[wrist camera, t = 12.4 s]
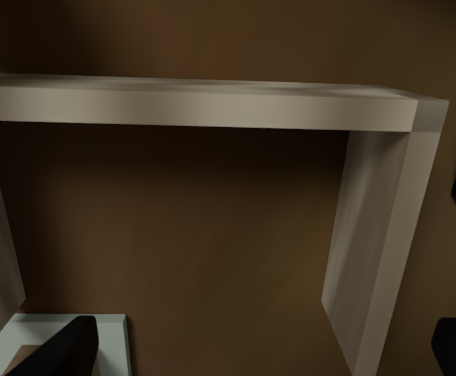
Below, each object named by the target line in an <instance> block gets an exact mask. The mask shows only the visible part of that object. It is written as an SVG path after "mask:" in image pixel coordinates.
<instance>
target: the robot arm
mask: <svg viewBox="0 0 456 376" xmlns="http://www.w3.org/2000/svg"><path fill="white" fill-rule="evenodd" d="M452 196H453V197H454V198H455V199H456V179H455V183H454V186H453V189H452ZM431 347H432V350H433V353H434V355H435V357H436V359H437V362H438V364H439V366H440V368H441V371H442V373H443V375H444V376H456V318H447V317H443V318H440V319H439V320H438V322H437V325H436V328H435V331H434V334H433V337H432V340H431ZM98 348H99V336H98V328H97V321H96V318H95V316H93V315H79V316H77V317H75V318H74V319H73V320H72V321H71V322H69V323H68V324H67V325H66V326H64V327H63V328H62V329H61V330H59V331H58V332H57V333H56V334H55V335H53V336H52V337H51V338H50V339H48V340H47V341H46V342H45V343H44V344H42V345H41V346H40V347H39V348H37V349H36V350H35V351H34V352H32V353H31V354H30V355H29V356H28V357H26V358H25V359H24V360H23V361H21V362H20V363H19V364H18V365H16V366H15V367H14V368H13V369H12V370H10V371H9V372H8V373H7V374H5V375H4V376H91V375H92V371H93V367H94V364H95V360H96V356H97V352H98Z"/></svg>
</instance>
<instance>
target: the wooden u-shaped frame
mask: <svg viewBox="0 0 456 376" xmlns="http://www.w3.org/2000/svg"><path fill="white" fill-rule="evenodd" d="M449 102H450V101H447V100H443V99H438V98H434V97H430V96H425V95H421V94H416V93H412V92H407V91H403V90H398V89H394V88H389V87H385V86H380V85H355V84H324V83H293V82H262V81H231V80H200V79H170V78H139V77H108V76H77V75H46V74H16V73H0V121H32V122H69V123H106V124H142V125H179V126H216V127H252V128H289V129H326V130H350V133H349V139H348V145H347V151H346V157H345V163H344V169H343V174H342V180H341V186H340V192H339V198H338V204H337V210H336V216H335V222H334V228H333V234H332V240H331V246H330V252H329V258H328V264H327V270H326V276H325V282H324V287H323V293H322V299H321V301H322V304H323V306H324V309H325V311H326V314H327V316H328V318H329V321H330V323H331V326H332V328H333V331H334V333H335V335H336V338H337V340H338V343H339V345H340V348H341V350H342V352H343V355H344V357H345V360H346V362H347V365H348V367H349V369H350V372H351V374H352V376H376V373H377V369H378V365H379V361H380V358H381V354H382V350H383V347H384V343H385V339H386V336H387V332H388V328H389V324H390V321H391V317H392V313H393V310H394V306H395V302H396V298H397V295H398V291H399V287H400V284H401V280H402V276H403V272H404V269H405V265H406V261H407V258H408V254H409V250H410V246H411V243H412V239H413V235H414V232H415V228H416V224H417V220H418V217H419V213H420V209H421V206H422V202H423V198H424V195H425V191H426V187H427V183H428V180H429V176H430V172H431V169H432V165H433V161H434V157H435V154H436V150H437V146H438V143H439V139H440V135H441V131H442V128H443V124H444V120H445V117H446V113H447V109H448V105H449ZM25 299H26V295H25V291H24V287H23V282H22V278H21V274H20V270H19V265H18V261H17V257H16V252H15V248H14V244H13V239H12V235H11V231H10V226H9V222H8V218H7V214H6V209H5V205H4V201H3V196H2V192H1V188H0V332H1V331H2V329H3V328H4V327H5V325H6V324H7V323H8V321H9V320H10V319H11V318H12V316H13V315H14V314H15V312H16V311H17V310H18V308H19V307H20V306H21V305H22V303H23V302H24V301H25Z"/></svg>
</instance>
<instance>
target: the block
mask: <svg viewBox="0 0 456 376" xmlns="http://www.w3.org/2000/svg"><path fill="white" fill-rule="evenodd" d="M40 346H41V345H21V347H20V348H19V350H18V351H17V353H16V354H15V356H14V357H13V359H12V360H11V362H10V363H9V365H8V366H7V368H6V369H5V371H4V372H3V374H2V376H4V375H5V374H7V373H8V372H9V371H10V370H12V369H13V368H14V367H15V366H16V365H18V364H19V363H20V362H21V361H23V360H24V359H25V358H26V357H28V356H29V355H30V354H31V353H32V352H34V351H35V350H36V349H37V348H39V347H40ZM91 376H100V369H99V362H98V355H97V356H96V360H95V364H94V367H93V371H92V375H91Z"/></svg>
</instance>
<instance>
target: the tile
mask: <svg viewBox="0 0 456 376" xmlns="http://www.w3.org/2000/svg"><path fill="white" fill-rule="evenodd" d="M79 315H93V316H95V318H96V321H97V328H98V336H99V348H98V352H97V355H98V362H99V369H100V376H132V372H131V362H130V352H129V342H128V332H127V322H126V314H14V315H13V316H12V318H11V319H10V320H9V321H8V323H7V324H6V325H5V327H4V328H3V329H2V331H1V332H0V374H1V376H2V374H3V372H4V371H5V369H6V368H7V366H8V365H9V363H10V362H11V360H12V359H13V357H14V356H15V354H16V353H17V351H18V350H19V348H20V347H21V345H42V344H44V343H45V342H46V341H47V340H48V339H50V338H51V337H52V336H53V335H55V334H56V333H57V332H58V331H59V330H61V329H62V328H63V327H64V326H66V325H67V324H68V323H69V322H71V321H72V320H73V319H74V318H75V317H77V316H79Z"/></svg>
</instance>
